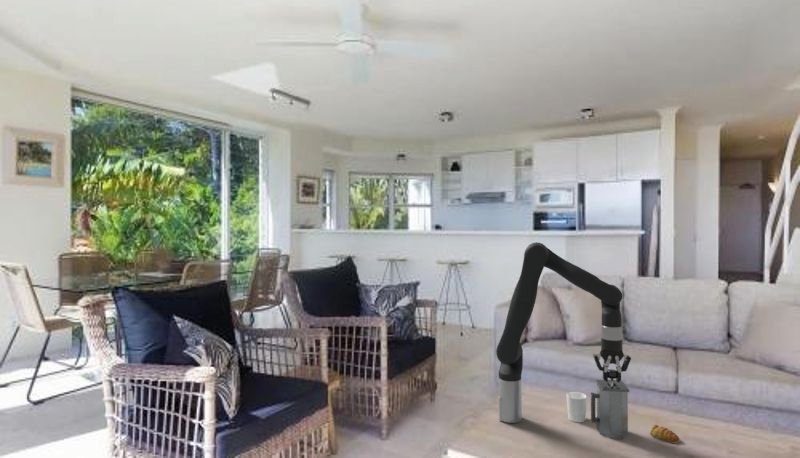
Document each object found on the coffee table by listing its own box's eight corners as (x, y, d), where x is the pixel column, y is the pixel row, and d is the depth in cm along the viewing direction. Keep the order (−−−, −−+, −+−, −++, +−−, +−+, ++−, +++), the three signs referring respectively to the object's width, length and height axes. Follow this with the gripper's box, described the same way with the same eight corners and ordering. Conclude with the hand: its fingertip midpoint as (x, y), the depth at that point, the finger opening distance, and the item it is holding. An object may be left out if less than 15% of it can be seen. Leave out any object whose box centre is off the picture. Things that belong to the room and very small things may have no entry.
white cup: (583, 415, 198) (583, 391, 198) (589, 423, 190) (589, 399, 190) (564, 414, 199) (564, 391, 198) (569, 423, 191) (569, 398, 191)
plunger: (603, 413, 178) (603, 373, 178) (598, 405, 186) (598, 367, 186) (626, 414, 177) (626, 374, 176) (620, 406, 185) (619, 367, 184)
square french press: (594, 437, 178) (594, 388, 178) (588, 425, 188) (588, 379, 187) (630, 439, 176) (630, 389, 175) (622, 427, 186) (621, 380, 185)
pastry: (682, 440, 175) (682, 430, 174) (674, 446, 171) (674, 436, 171) (656, 431, 182) (656, 422, 182) (648, 437, 178) (648, 427, 178)
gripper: (594, 339, 178) (595, 384, 179) (634, 340, 176) (634, 385, 176) (589, 334, 186) (590, 377, 186) (628, 335, 183) (628, 378, 184)
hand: (612, 381), depth 181 cm, fingers closed on plunger, 3 cm apart
